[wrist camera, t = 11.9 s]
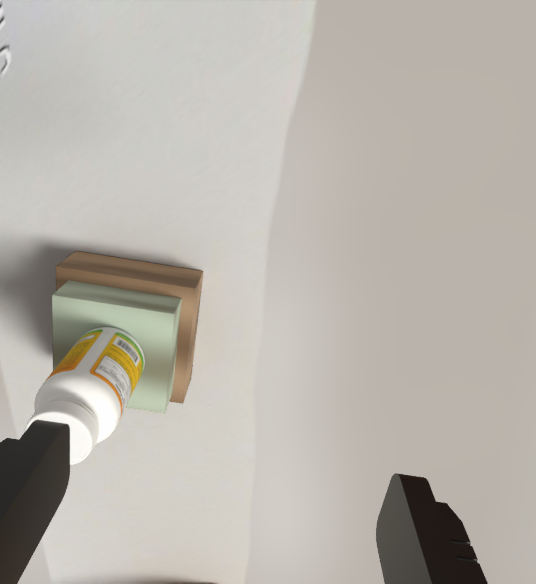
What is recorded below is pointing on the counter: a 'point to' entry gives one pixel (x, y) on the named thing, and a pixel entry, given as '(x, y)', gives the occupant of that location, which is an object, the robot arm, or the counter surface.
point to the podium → (132, 317)
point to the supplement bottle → (91, 388)
